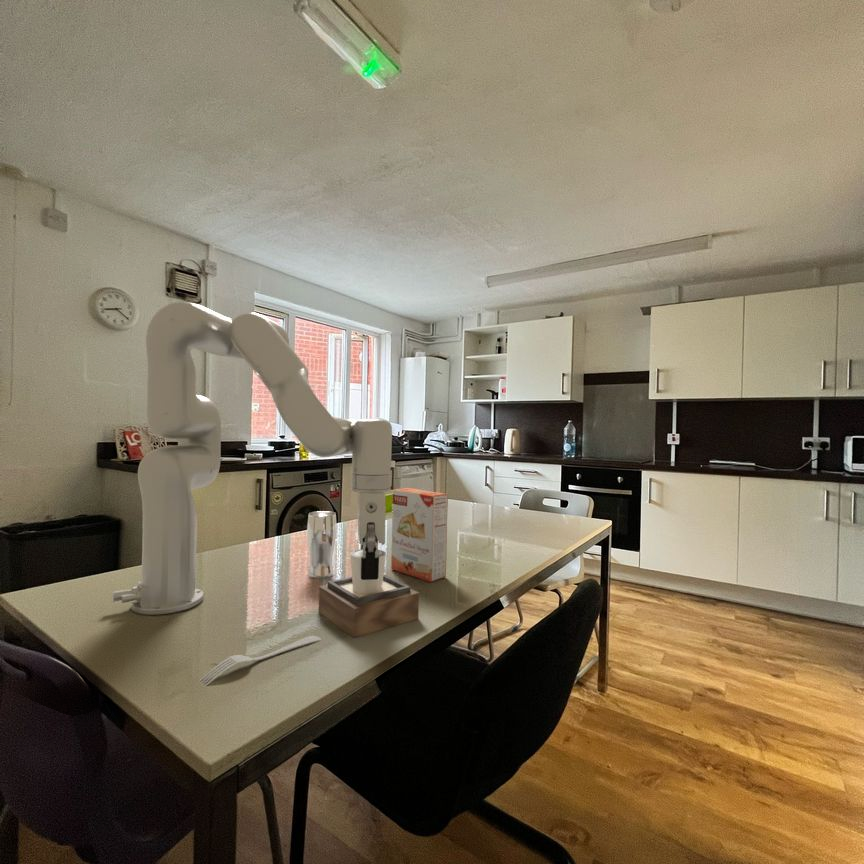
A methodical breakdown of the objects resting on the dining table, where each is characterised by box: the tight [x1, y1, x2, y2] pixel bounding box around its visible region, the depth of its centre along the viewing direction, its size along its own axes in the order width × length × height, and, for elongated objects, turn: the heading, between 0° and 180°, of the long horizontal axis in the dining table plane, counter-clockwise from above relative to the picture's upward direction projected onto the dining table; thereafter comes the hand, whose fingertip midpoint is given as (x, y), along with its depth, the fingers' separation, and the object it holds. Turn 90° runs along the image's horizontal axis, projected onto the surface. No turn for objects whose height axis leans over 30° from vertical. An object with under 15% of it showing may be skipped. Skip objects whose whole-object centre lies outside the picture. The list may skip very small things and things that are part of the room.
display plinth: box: [318, 574, 420, 638], centre depth 91 cm, size 14×14×6 cm
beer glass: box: [306, 510, 337, 579], centre depth 115 cm, size 7×7×15 cm
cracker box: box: [390, 487, 449, 583], centre depth 117 cm, size 14×6×21 cm, turn 48°
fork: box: [199, 635, 323, 687], centre depth 73 cm, size 3×21×3 cm, turn 140°
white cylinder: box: [350, 548, 387, 594], centre depth 90 cm, size 7×7×7 cm
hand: (369, 571), depth 91 cm, fingers open, 9 cm apart
